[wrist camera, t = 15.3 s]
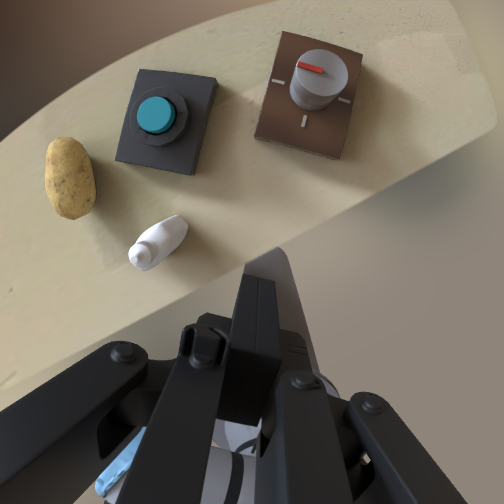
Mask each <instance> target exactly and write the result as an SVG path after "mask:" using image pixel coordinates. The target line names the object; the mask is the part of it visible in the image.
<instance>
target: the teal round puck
mask: <svg viewBox="0 0 504 504" xmlns="http://www.w3.org/2000/svg"><path fill="white" fill-rule="evenodd" d="M137 120H138V123H139V125H140V126H141V127H142V128H143V129H144V130H146V131H149V132H152V133H162V132H164V131H166V130H167V129H169V128H170V127H171V125H172V124H173V122H174V120H175V109H174V107H173V106H172V104H171V103H169V102H168V101H167V100H165V99H164V98H161V97H152V98H149V99H147V100H146V101H144V102H143V103H142V104H141V106H140V107H139V109H138V113H137Z"/></svg>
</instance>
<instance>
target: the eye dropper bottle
mask: <svg viewBox="0 0 504 504" xmlns="http://www.w3.org/2000/svg"><path fill="white" fill-rule="evenodd" d="M187 230H188V224H187V223H186V222H185V221H184V220H183V219H182V218H181V217H180V216H178V215H174V216H172V217H170V218H167V219H165V220H163V221H161V222H159V223H157V224H155V225H154V226H152V227H150V228H149V229H147V230H146V231H145V232H144V233H143V234H142V235H141V236H140V237H139V239H138V240H137V242H136V243H135V244H134V245H133V246H132V247H131V248H130V251H129V259H130V261H131V263H132V264H133V265H134V266H136V267H138V268H139V269H140V270H142V271H147V270H150V269H152V268H153V267H155V266H156V265H158V264H159V263H160V262H161V261H162V260H163V259H165V258H166V257H167V256H168V255H169V254H170V253H171V252H173V251H174V250H175V249H176V248H177V247H178V246H179V245H180V244H181V242H182V241H183V239H184V237H185V235H186V233H187Z"/></svg>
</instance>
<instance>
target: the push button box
mask: <svg viewBox="0 0 504 504" xmlns="http://www.w3.org/2000/svg"><path fill="white" fill-rule="evenodd" d="M217 86H218V82H217V80H216V78H212V77H205V76H199V75H192V74H184V73H176V72H167V71H157V70H145V69H139V71H138V74H137V77H136V80H135V83H134V87H133V90H132V94H131V97H130V101H129V104H128V108H127V112H126V115H125V119H124V123H123V127H122V131H121V136H120V140H119V144H118V149H117V153H116V158H115V161H119V162H125V163H130V164H136V165H141V166H146V167H151V168H156V169H161V170H166V171H171V172H176V173H181V174H185V175H194V174H195V170H196V166H197V162H198V158H199V153H200V149H201V145H202V141H203V137H204V133H205V130H206V126H207V122H208V118H209V114H210V111H211V107H212V103H213V100H214V96H215V93H216V89H217ZM152 97H161V98H164V99H165V100H167V101H168V102H169V103H171V104H172V106H173V107H174V109H175V120H174V122H173V124H172V125H171V127H170V128H169V129H167V130H166V131H164V132H162V133H152V132H149V131H146V130H144V129H143V128H142V127H141V126H140V125H139V123H138V120H137V113H138V109H139V107H140V106H141V104H142V103H143V102H144V101H146V100H147V99H149V98H152Z"/></svg>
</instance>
